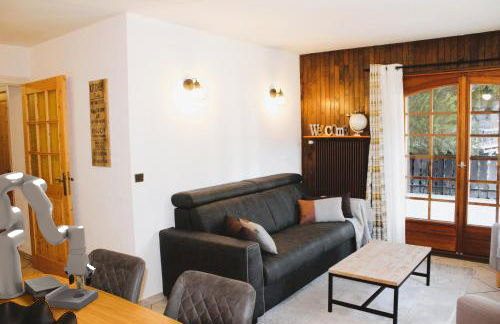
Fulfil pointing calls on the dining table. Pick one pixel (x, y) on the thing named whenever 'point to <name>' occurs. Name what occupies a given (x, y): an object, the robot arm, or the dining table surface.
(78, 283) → the brass pin
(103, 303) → the dining table surface
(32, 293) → the stone block
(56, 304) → the plate
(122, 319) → the dining table surface
